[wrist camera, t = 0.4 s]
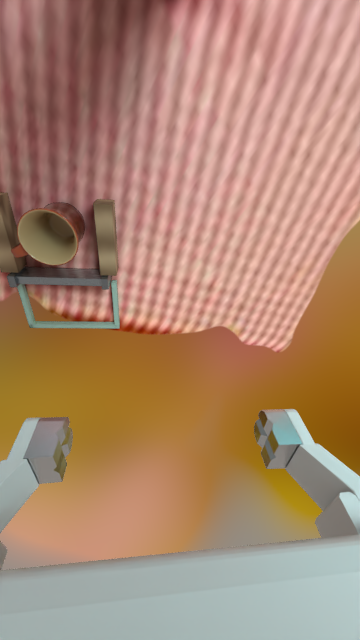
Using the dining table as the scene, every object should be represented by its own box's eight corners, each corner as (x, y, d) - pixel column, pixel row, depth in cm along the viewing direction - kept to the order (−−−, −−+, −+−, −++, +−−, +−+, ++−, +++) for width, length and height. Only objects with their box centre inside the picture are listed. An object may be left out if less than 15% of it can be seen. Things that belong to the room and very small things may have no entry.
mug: (71, 187, 45) (54, 198, 36) (99, 233, 50) (89, 252, 41) (14, 216, 47) (-15, 232, 38) (46, 258, 51) (26, 281, 43)
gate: (18, 265, 51) (6, 276, 47) (110, 268, 54) (107, 279, 49) (21, 275, 53) (10, 287, 48) (111, 277, 55) (108, 289, 51)
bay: (17, 277, 53) (15, 280, 52) (116, 280, 56) (116, 282, 55) (31, 324, 60) (29, 327, 59) (119, 325, 62) (119, 328, 61)
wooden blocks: (-12, 191, 44) (-25, 195, 41) (114, 200, 47) (111, 204, 43) (10, 263, 51) (1, 272, 48) (118, 267, 54) (116, 275, 51)
